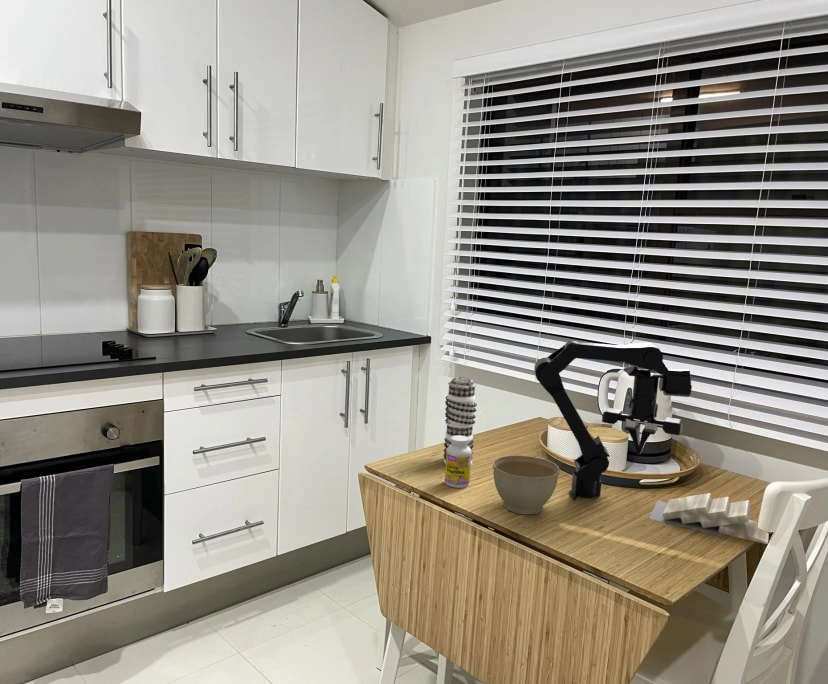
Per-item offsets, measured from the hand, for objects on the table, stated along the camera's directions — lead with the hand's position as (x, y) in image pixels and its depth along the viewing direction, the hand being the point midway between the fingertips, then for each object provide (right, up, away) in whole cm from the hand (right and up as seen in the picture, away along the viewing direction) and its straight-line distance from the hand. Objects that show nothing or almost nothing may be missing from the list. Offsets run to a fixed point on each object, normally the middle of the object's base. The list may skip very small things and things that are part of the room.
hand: (638, 453), depth 166 cm
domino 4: (+15, -14, -12) cm, 24 cm away
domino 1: (+5, -13, -6) cm, 15 cm away
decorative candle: (-44, -7, +26) cm, 52 cm away
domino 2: (+8, -13, -8) cm, 17 cm away
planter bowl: (-30, -13, -4) cm, 33 cm away
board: (+9, -15, -8) cm, 19 cm away
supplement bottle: (-46, -10, +9) cm, 47 cm away
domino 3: (+12, -13, -10) cm, 21 cm away
